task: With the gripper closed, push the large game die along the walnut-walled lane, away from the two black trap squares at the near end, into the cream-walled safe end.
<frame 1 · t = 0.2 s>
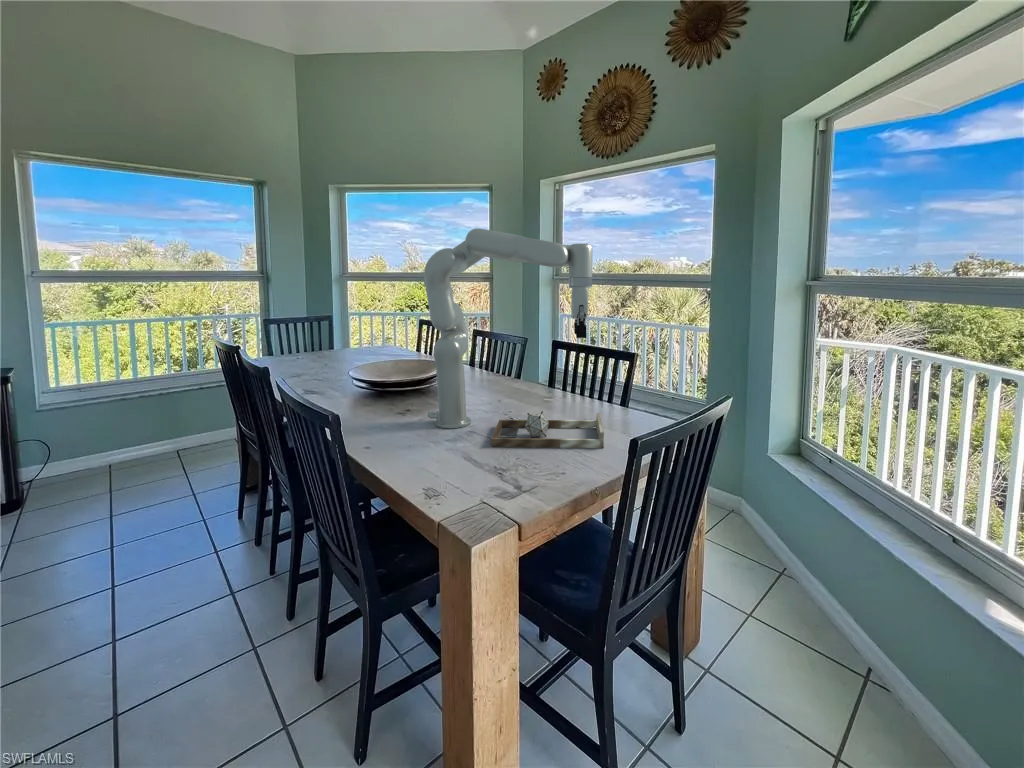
hand: (580, 335, 166), 31 cm above the table, tool pointing down, fingers open, 9 cm apart
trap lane: (547, 436, 162), on the table
game die: (537, 437, 162), on the table
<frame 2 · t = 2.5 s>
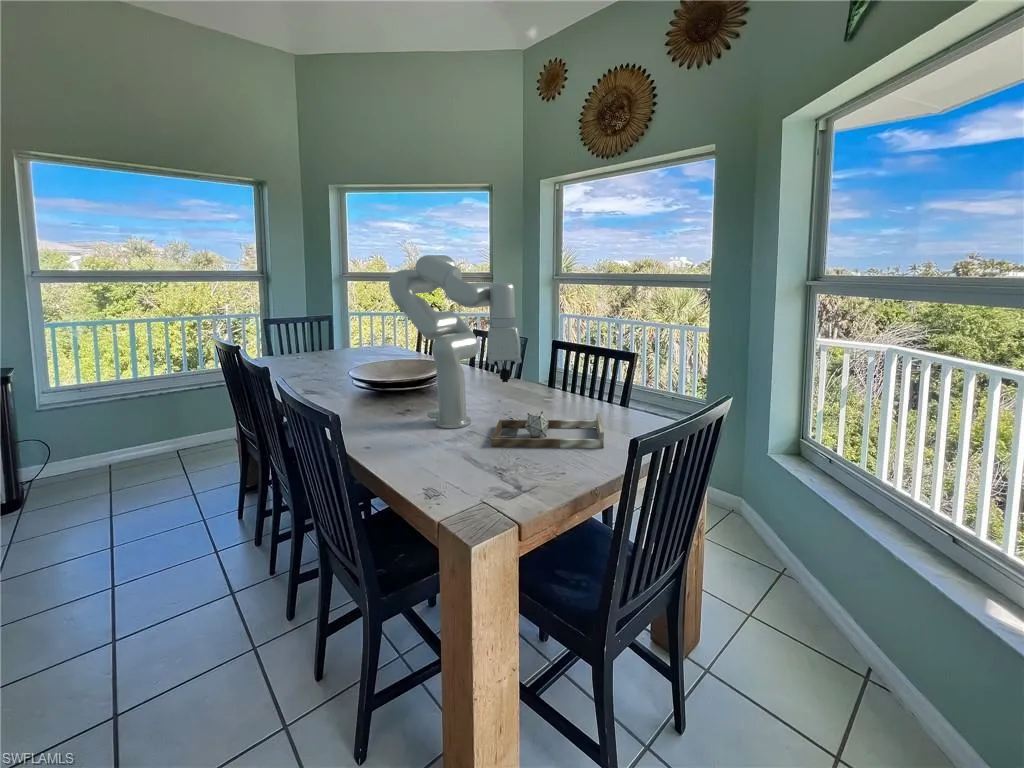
hand: (505, 381, 159), 18 cm above the table, tool pointing down, fingers closed
nothing on the table moved.
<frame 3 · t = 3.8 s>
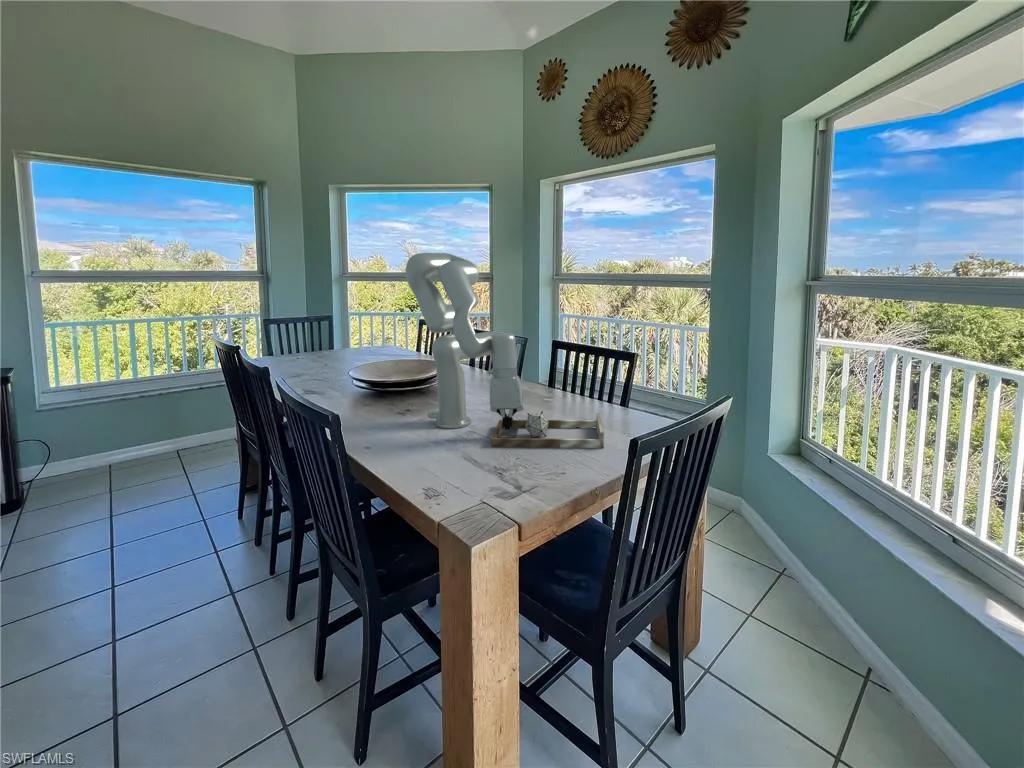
hand: (507, 428, 162), 3 cm above the table, tool pointing down, fingers closed
nothing on the table moved.
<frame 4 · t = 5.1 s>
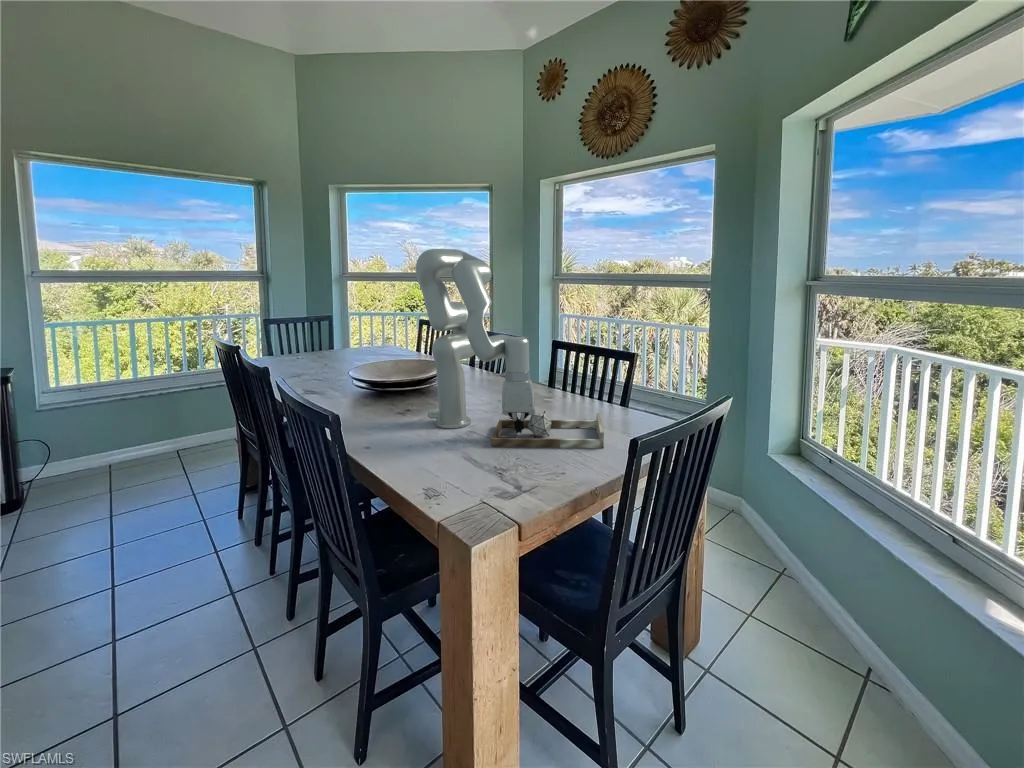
hand: (519, 431, 162), 2 cm above the table, tool pointing down, fingers closed
game die: (539, 436, 162), on the table, touching gripper
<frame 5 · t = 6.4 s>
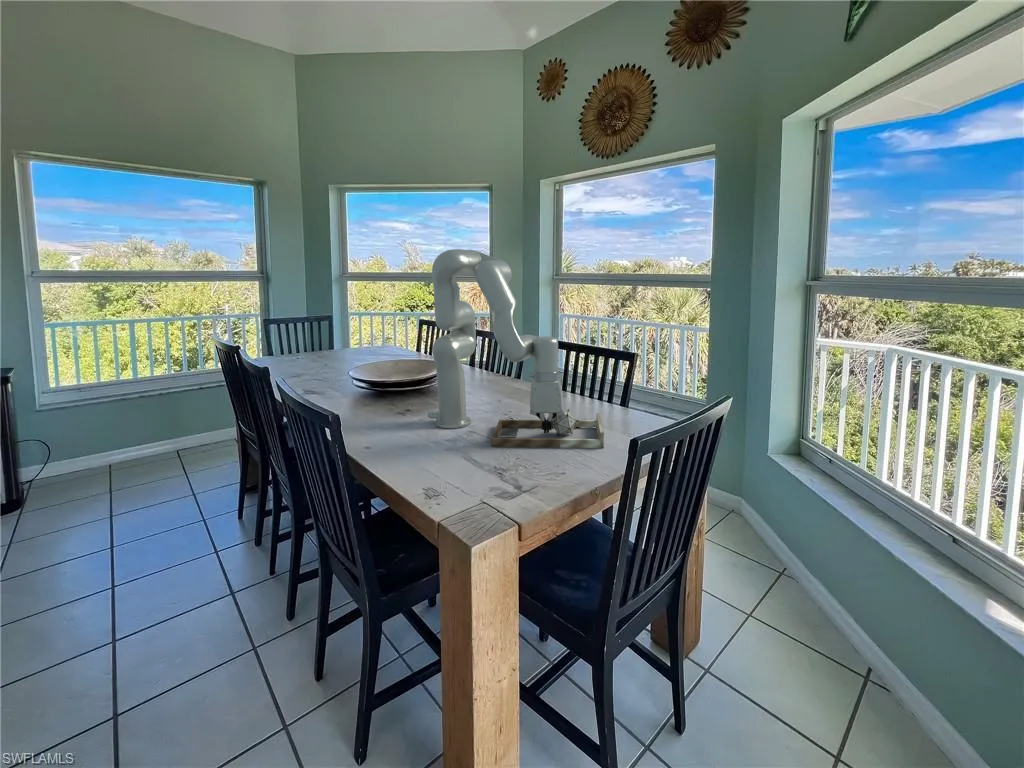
hand: (546, 432, 161), 2 cm above the table, tool pointing down, fingers closed
game die: (563, 435, 163), on the table, touching gripper
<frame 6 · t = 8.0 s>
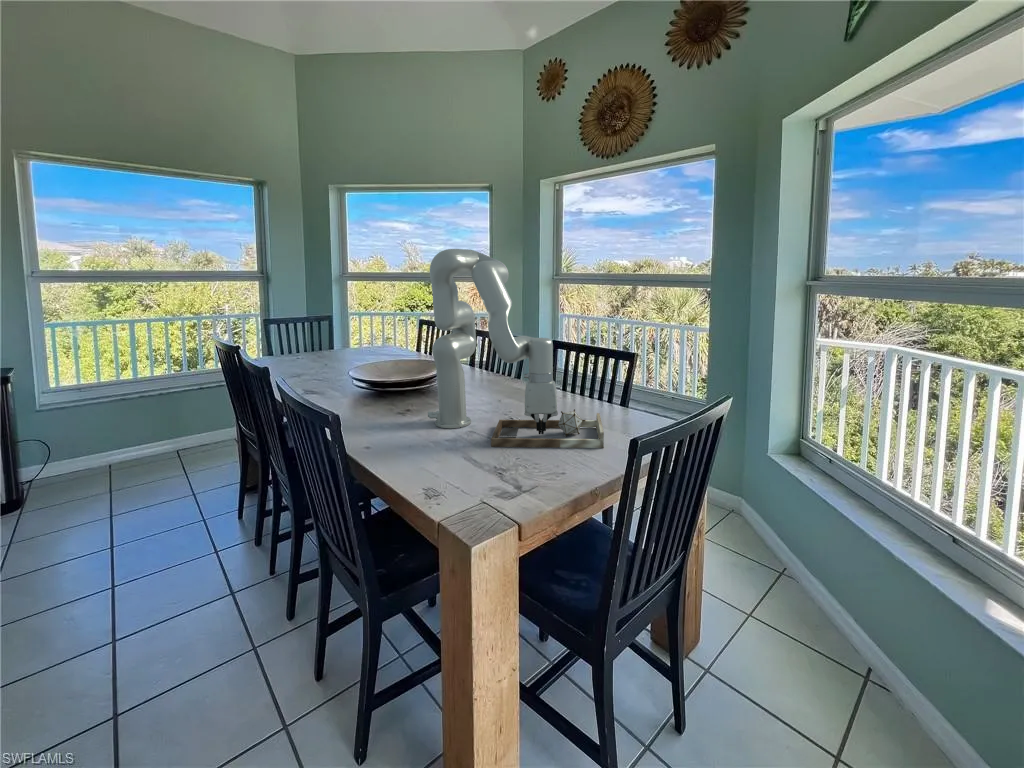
hand: (541, 432, 162), 1 cm above the table, tool pointing down, fingers closed
game die: (570, 435, 163), on the table
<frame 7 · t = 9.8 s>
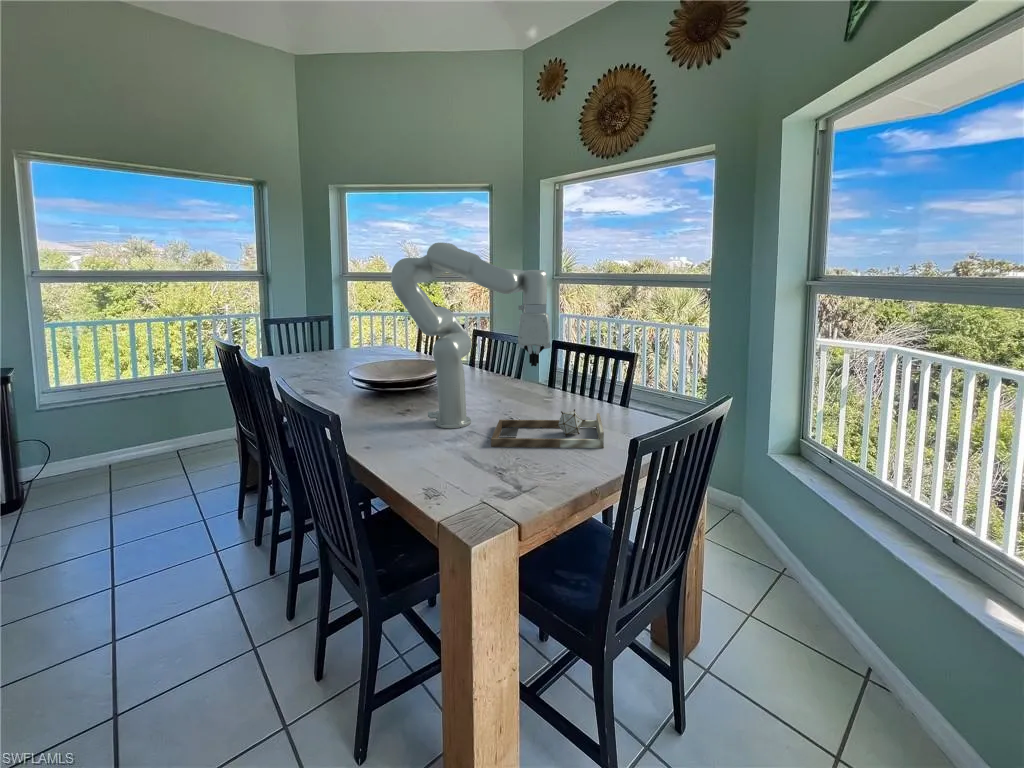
hand: (534, 365, 165), 22 cm above the table, tool pointing down, fingers closed
nothing on the table moved.
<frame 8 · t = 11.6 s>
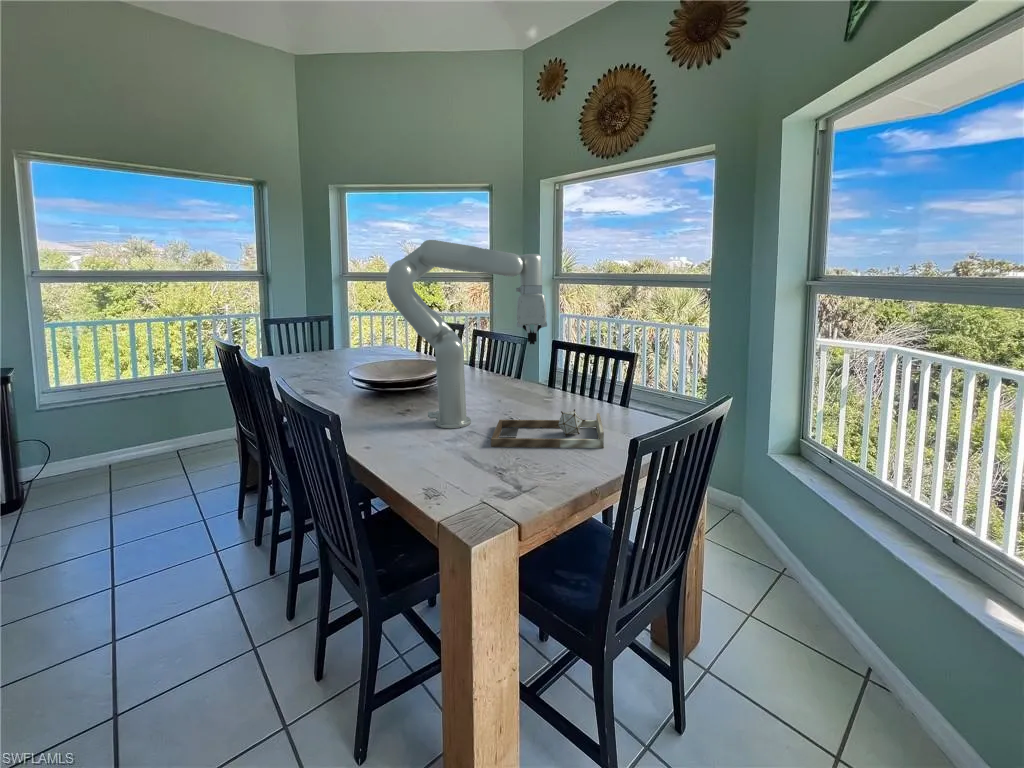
hand: (532, 343, 177), 27 cm above the table, tool pointing down, fingers closed
nothing on the table moved.
at the end: game die inside the target area (3.3 cm from its centre), on the table; game die tilted 0°; game die moved 11.0 cm from its start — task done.
